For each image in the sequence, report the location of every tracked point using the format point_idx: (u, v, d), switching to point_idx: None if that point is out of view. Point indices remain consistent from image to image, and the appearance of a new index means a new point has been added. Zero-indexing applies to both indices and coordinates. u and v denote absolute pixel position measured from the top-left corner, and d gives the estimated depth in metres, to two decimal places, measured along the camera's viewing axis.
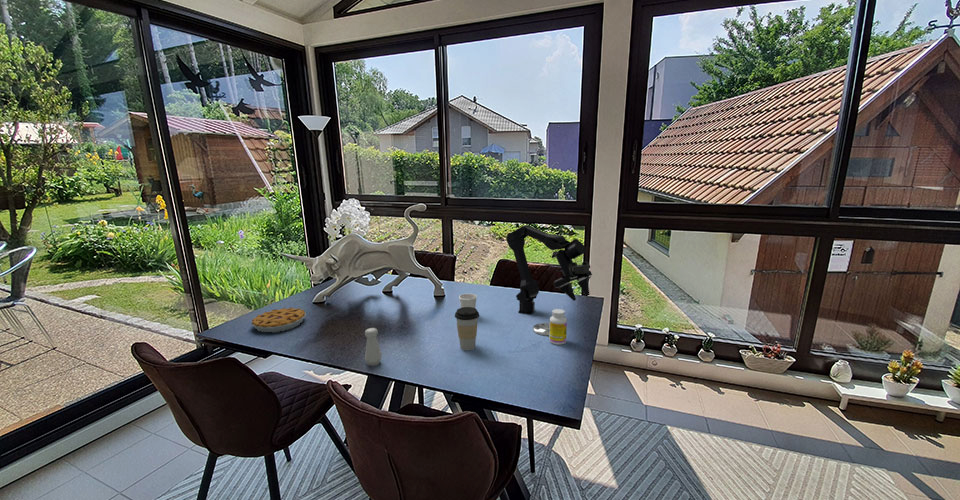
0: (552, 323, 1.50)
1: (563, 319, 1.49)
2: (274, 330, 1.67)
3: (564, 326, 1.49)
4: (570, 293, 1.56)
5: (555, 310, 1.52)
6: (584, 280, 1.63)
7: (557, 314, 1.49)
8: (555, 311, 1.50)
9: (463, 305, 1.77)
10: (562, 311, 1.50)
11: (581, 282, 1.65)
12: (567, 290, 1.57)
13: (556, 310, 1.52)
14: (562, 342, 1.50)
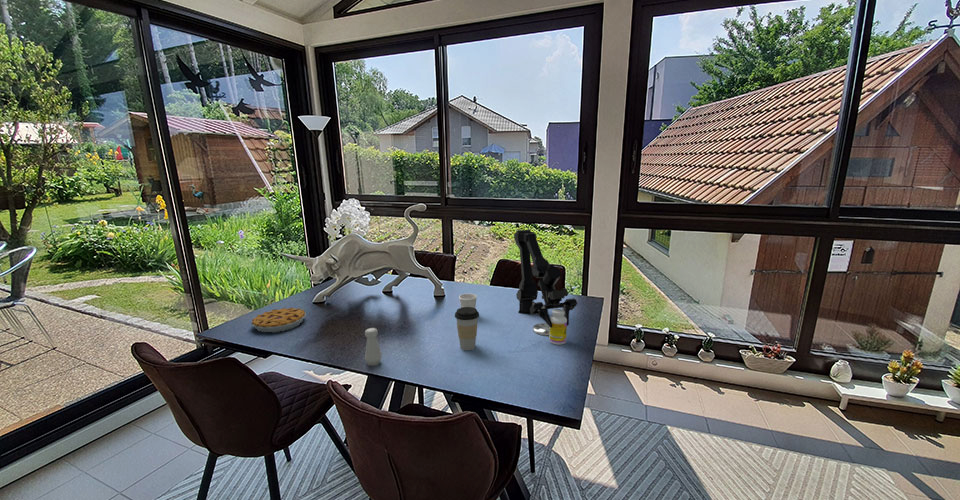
0: (552, 323, 1.50)
1: (563, 319, 1.49)
2: (274, 330, 1.67)
3: (564, 326, 1.49)
4: (546, 319, 1.51)
5: (555, 310, 1.52)
6: (564, 309, 1.54)
7: (557, 314, 1.49)
8: (555, 311, 1.50)
9: (463, 305, 1.77)
10: (562, 311, 1.50)
11: None
12: (545, 316, 1.52)
13: (556, 310, 1.52)
14: (562, 342, 1.50)
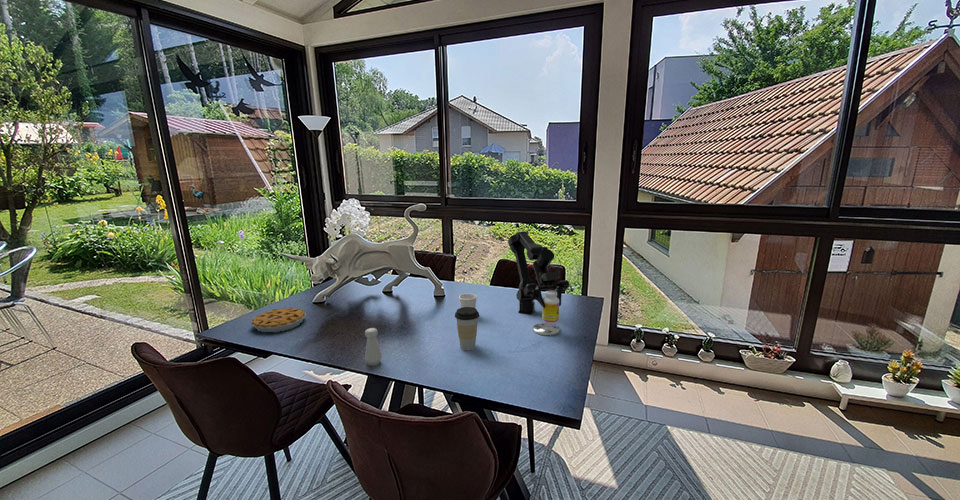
0: (545, 303, 1.55)
1: (556, 300, 1.55)
2: (274, 330, 1.67)
3: (556, 306, 1.55)
4: (540, 300, 1.56)
5: (548, 291, 1.57)
6: (557, 290, 1.59)
7: (550, 295, 1.54)
8: (548, 292, 1.56)
9: (463, 305, 1.77)
10: (555, 292, 1.56)
11: None
12: (538, 297, 1.58)
13: (549, 291, 1.57)
14: (554, 322, 1.56)
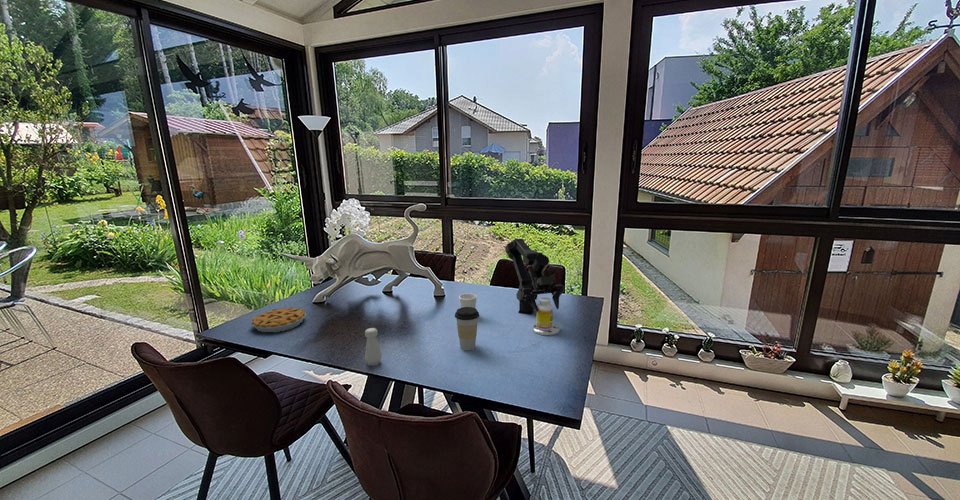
0: (539, 310, 1.60)
1: (549, 307, 1.60)
2: (274, 330, 1.67)
3: (550, 313, 1.60)
4: (533, 304, 1.61)
5: (541, 298, 1.62)
6: (555, 294, 1.65)
7: (543, 302, 1.59)
8: (541, 299, 1.61)
9: (463, 305, 1.77)
10: (548, 299, 1.61)
11: (553, 296, 1.66)
12: (531, 301, 1.62)
13: (543, 298, 1.62)
14: (548, 328, 1.61)
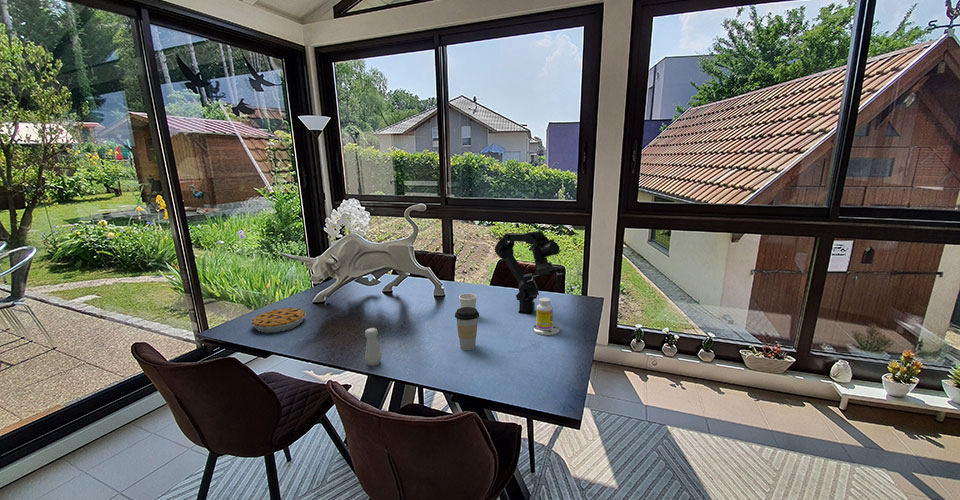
0: (539, 310, 1.60)
1: (549, 307, 1.60)
2: (274, 330, 1.67)
3: (550, 313, 1.60)
4: (534, 288, 1.73)
5: (541, 298, 1.62)
6: None
7: (543, 302, 1.59)
8: (541, 299, 1.61)
9: (463, 305, 1.77)
10: (548, 299, 1.61)
11: None
12: None
13: (543, 298, 1.62)
14: (548, 328, 1.61)
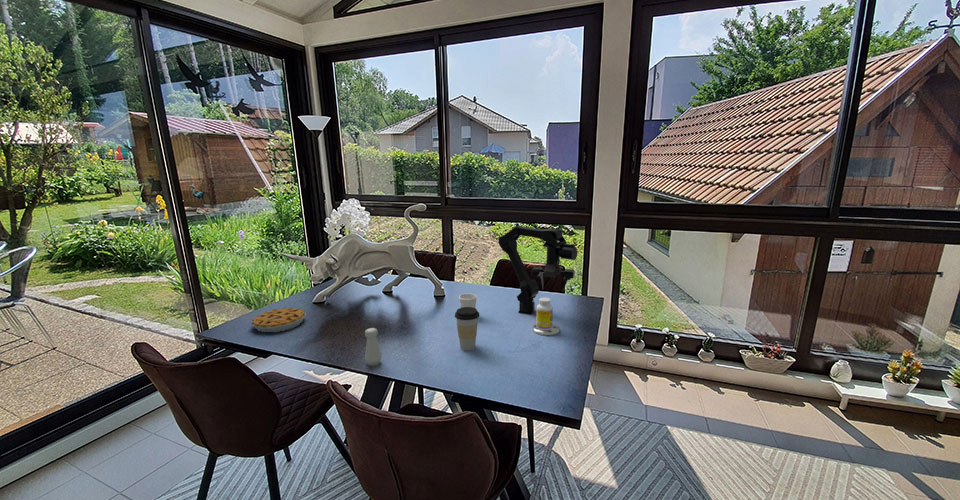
0: (539, 310, 1.60)
1: (549, 307, 1.60)
2: (274, 330, 1.67)
3: (550, 313, 1.60)
4: None
5: (541, 298, 1.62)
6: None
7: (543, 302, 1.59)
8: (541, 299, 1.61)
9: (463, 305, 1.77)
10: (548, 299, 1.61)
11: None
12: None
13: (543, 298, 1.62)
14: (548, 328, 1.61)
